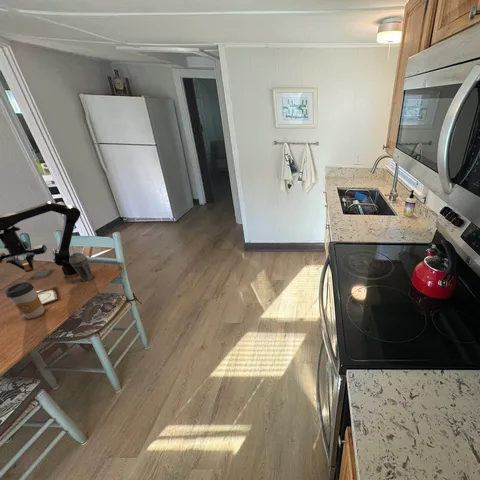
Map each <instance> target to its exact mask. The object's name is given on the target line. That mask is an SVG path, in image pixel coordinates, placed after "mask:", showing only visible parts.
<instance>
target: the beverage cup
mask: <svg viewBox="0 0 480 480" xmlns="http://www.w3.org/2000/svg"><path fill="white" fill-rule="evenodd" d="M70 246H71V248H72V250H73V253H72V254H70V258H69V262H70V264H71V265H72V266H73V267H74V269H75V270H76V272H77V275H78V277H79V278H80V279H81V280H82V281H83V282H87V281H90V280H92V279H93V278H94V275H93V272H92V270H91V267H90V264H89V261H88V257H87V256H86V254H84V253H81V252H77V251H76V249H75V247H74V245H73V244H72V245H71V244H70Z"/></svg>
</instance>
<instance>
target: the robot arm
mask: <svg viewBox="0 0 480 480" xmlns="http://www.w3.org/2000/svg"><path fill="white" fill-rule="evenodd" d="M49 212H54V213H57V214H60V215H62V216H63V225H62V230H61V234H60V239H59V244H58V247H57V248H56V249H52V254H51V255H50V257H51V259H52V260H53V262H54V263H55V265H56V266H58V267H61V271H62V273H63V274H64V276H74V275H76V276H78V277H79V275H78V273H77V272H76V270H75V269H74V267H73V266H72V265H71V264H70V262H69V258H70V256H71V254H70V246H71V242H72V237H73V234H74V228H75V225H76V223H77V222H78V220H79V219H80V217H81V214H82V213H81V210H80V209H79V208H78V207H76V206H74V205H72V204H71V205H70V204H69V205H65V204H61V203H56V202H52V201H46V202H44V203H41V204H38V205H35V206H31V207H29V208H25V209H22V210H19V211H16V212H8V213H1V214H0V241H1V243H2V244H3V248H4V249H6V250H7V252H8V253H5V252H0V264H1V263H2V262H3V260H5V263H6V264H11V265H14V266H16V267H17V268H19V269H21V270H22V271H25V269H24V267H23V266H22V264H23V263H22V261H21V260H20V259H19V257H20V256H25V260H26V263H29V265H30V267H31V268H34V257H36V256H38V255H42V254H45V253H47V251H48V247H47V245H45V244H40V245H39V244H38V245H34V246H33V248H31V249H30V244H29V242H28V241H27V240H26V241H23V240H22V239H21V238H20V236H19V235H18V233H17V232H19V231H21V228H20V227H19V226H15V225H17V224H18V223H20V222H23V221H25V220H28V219H31V218H34V217H38V216H40V215H43V214H46V213H49Z"/></svg>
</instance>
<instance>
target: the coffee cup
mask: <svg viewBox="0 0 480 480" xmlns="http://www.w3.org/2000/svg"><path fill="white" fill-rule="evenodd" d="M36 292H37V291H36V290H35V286H34V285H33V284H32V283H30V282H28V281H25V282H19V283H16V284H13V285H11V286H10V287H8V288H6V290H5V296H6V298H8V299H9V300H10V301H11V302H12V304H13V305H14V306H15V308H17V310H18V311H19V312H20V313H21V314H22V315H23V316H24V317H25V319H30V320H31V319H34V318H35V319H36V318H37V317H40V316H41V315H43V314H44V313H45V307H44V305H42V303H41V301H40V299H39V297H38V295H37V293H36Z"/></svg>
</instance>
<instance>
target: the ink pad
mask: <svg viewBox="0 0 480 480" xmlns="http://www.w3.org/2000/svg"><path fill="white" fill-rule="evenodd" d="M50 271H51V269H45V270H39V271H36V272H35V273H34V274H33V275H32V276H31V278H37V277H43V276H46V275H47V274H48V273H49V272H50Z"/></svg>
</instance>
